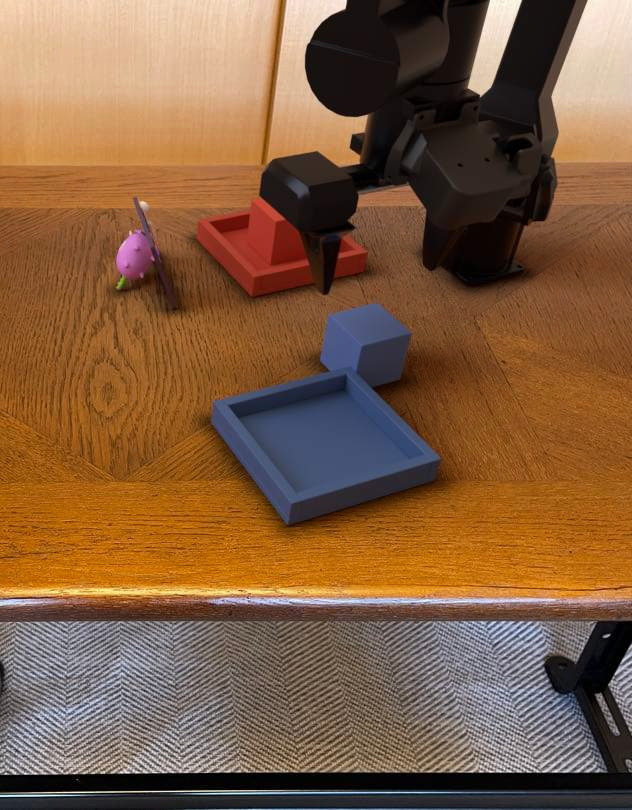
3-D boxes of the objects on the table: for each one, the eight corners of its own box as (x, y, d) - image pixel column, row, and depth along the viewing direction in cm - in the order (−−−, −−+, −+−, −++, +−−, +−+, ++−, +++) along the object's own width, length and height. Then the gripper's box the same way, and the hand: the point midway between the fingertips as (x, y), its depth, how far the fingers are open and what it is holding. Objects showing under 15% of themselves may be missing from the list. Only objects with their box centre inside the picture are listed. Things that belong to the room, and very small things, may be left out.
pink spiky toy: (162, 242, 76) (143, 192, 82) (103, 265, 76) (89, 213, 83) (185, 305, 80) (165, 252, 87) (128, 326, 80) (113, 272, 87)
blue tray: (345, 387, 72) (350, 365, 70) (435, 481, 64) (442, 458, 62) (210, 422, 68) (213, 401, 67) (287, 526, 60) (291, 503, 59)
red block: (287, 233, 89) (294, 190, 86) (312, 256, 86) (320, 212, 83) (246, 242, 88) (251, 199, 85) (270, 265, 84) (276, 221, 82)
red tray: (300, 217, 93) (303, 198, 91) (363, 272, 85) (368, 251, 83) (196, 238, 89) (197, 219, 88) (251, 297, 82) (254, 276, 80)
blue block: (367, 348, 76) (377, 302, 73) (400, 380, 72) (412, 332, 69) (319, 360, 74) (328, 314, 71) (351, 393, 71) (361, 345, 68)
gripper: (370, 140, 50) (325, 369, 60) (637, 93, 55) (555, 312, 65) (269, 71, 58) (244, 283, 68) (510, 35, 63) (454, 238, 73)
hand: (376, 280), depth 68 cm, fingers open, 9 cm apart
